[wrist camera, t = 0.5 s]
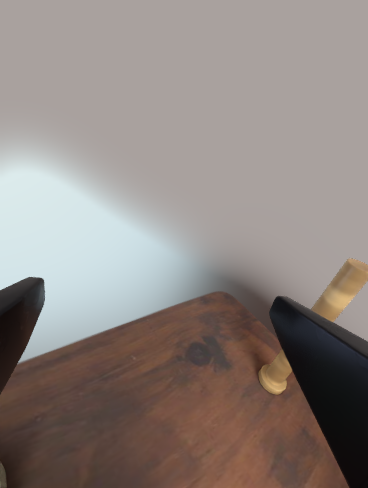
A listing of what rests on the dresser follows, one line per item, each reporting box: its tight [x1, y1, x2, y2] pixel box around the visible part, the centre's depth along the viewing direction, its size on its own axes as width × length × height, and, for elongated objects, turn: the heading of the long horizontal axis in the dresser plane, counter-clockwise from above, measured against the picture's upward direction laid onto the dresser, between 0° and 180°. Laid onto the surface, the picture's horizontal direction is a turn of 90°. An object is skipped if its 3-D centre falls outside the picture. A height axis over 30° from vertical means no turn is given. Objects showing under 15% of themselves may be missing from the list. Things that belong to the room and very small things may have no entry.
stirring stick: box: [259, 259, 368, 395], centre depth 20 cm, size 3×3×16 cm
